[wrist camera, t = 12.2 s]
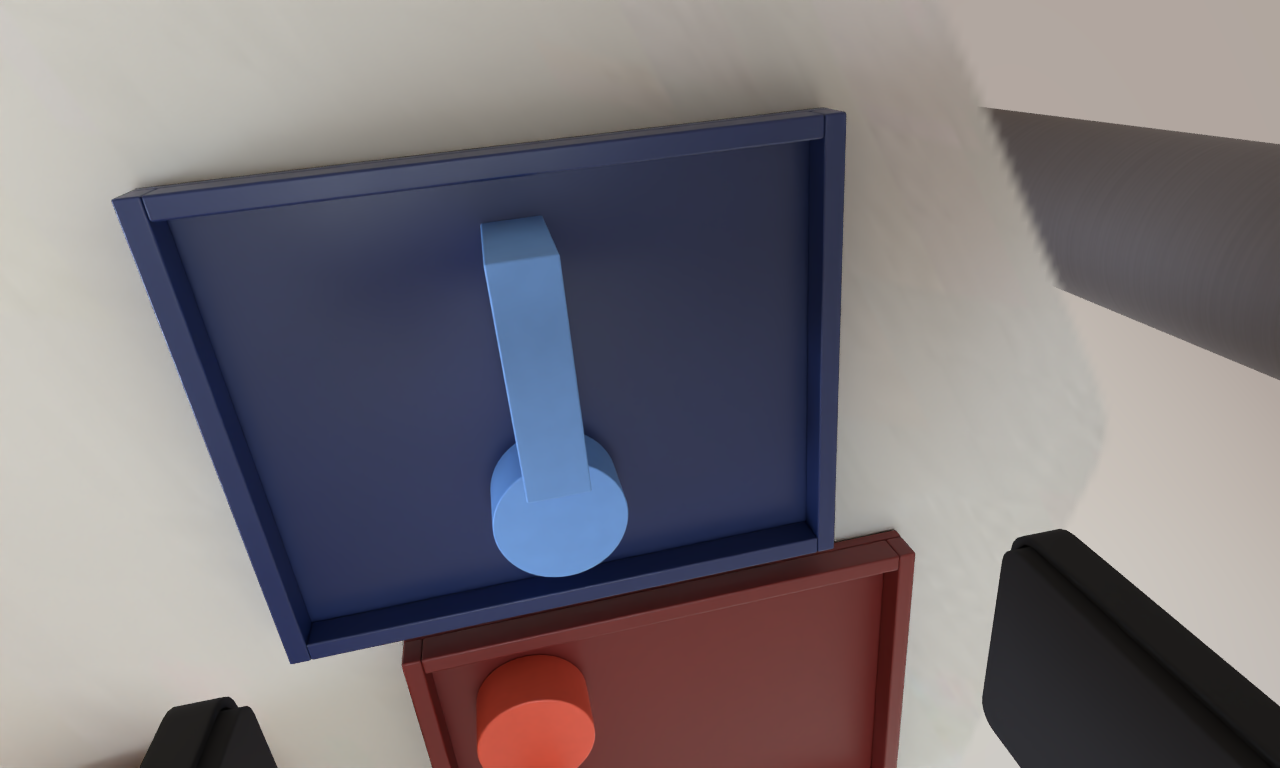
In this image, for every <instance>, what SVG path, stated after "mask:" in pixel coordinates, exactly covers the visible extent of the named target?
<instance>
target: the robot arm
mask: <svg viewBox="0 0 1280 768" xmlns="http://www.w3.org/2000/svg"><path fill="white" fill-rule="evenodd" d="M982 704H983V710H984V713H985V716H986V718H987V721H988V723H989V725H990V726H991V728H992V729H993V731H994V732H995V734H996V735H997V736H998V738H999V739H1000V740H1001V742H1002V743H1003V744H1004V746H1005V747H1006V748H1007V750H1008V751H1009V752H1010V754H1011V755H1012V756H1013V758H1014V759H1015V761H1016V762H1017V763H1018V765H1019V766H1020V767H1021V768H1280V706H1279V705H1277V704H1276V703H1275V702H1274V701H1273V700H1271V699H1270V698H1269V697H1268V696H1267V695H1265V694H1264V693H1263V692H1262V691H1261V690H1259V689H1258V688H1257V687H1256V686H1255V685H1253V684H1252V683H1251V682H1250V681H1249V680H1247V679H1246V678H1245V677H1244V676H1243V675H1241V674H1240V673H1239V672H1238V671H1237V670H1235V669H1234V668H1233V667H1232V666H1231V665H1229V664H1228V663H1227V662H1226V661H1224V660H1223V659H1222V658H1221V657H1220V656H1219V655H1217V654H1216V653H1215V652H1214V651H1213V650H1211V649H1210V648H1209V647H1208V646H1206V645H1205V644H1204V643H1203V642H1202V641H1201V640H1199V639H1198V638H1197V637H1196V636H1195V635H1193V634H1192V633H1191V632H1190V631H1189V630H1187V629H1186V628H1185V627H1184V626H1183V625H1181V624H1180V623H1179V622H1178V621H1177V620H1175V619H1174V618H1173V617H1172V616H1171V615H1169V614H1168V613H1167V612H1166V611H1165V610H1163V609H1162V608H1161V607H1160V606H1159V605H1157V604H1156V603H1155V602H1154V601H1152V600H1151V599H1150V598H1149V597H1148V596H1147V595H1145V594H1144V593H1143V592H1142V591H1140V590H1139V589H1138V588H1137V587H1136V586H1134V585H1133V584H1132V583H1131V582H1130V581H1129V580H1127V579H1126V578H1125V577H1124V576H1123V575H1121V574H1120V573H1119V572H1118V571H1117V570H1115V569H1114V568H1113V567H1112V566H1111V565H1109V564H1108V563H1107V562H1106V561H1105V560H1103V559H1102V558H1101V557H1100V556H1098V555H1097V554H1096V553H1095V552H1094V551H1093V550H1091V549H1090V548H1089V547H1088V546H1087V545H1085V544H1084V543H1083V542H1082V541H1081V540H1079V539H1078V538H1077V537H1076V536H1075V535H1073V534H1072V533H1070V532H1068V531H1067V530H1062V529H1057V530H1052V531H1047V532H1042V533H1037V534H1032V535H1027V536H1022V537H1019V538H1017V539H1016V540H1015V541H1014V542H1013V545H1012V548H1011V551H1008V552H1006V553H1005V554H1004V556H1003V560H1002V566H1001V573H1000V580H999V586H998V593H997V600H996V607H995V614H994V621H993V628H992V634H991V641H990V648H989V655H988V662H987V669H986V676H985V682H984V689H983V696H982ZM140 768H277V765H276V763H275V761H274V758H273V756H272V754H271V751H270V749H269V747H268V744H267V742H266V740H265V737H264V735H263V733H262V730H261V728H260V726H259V723H258V721H257V719H256V716H255V714H254V712H253V711H252V709H251V708H250V707H248V706H244V707H239V708H238V706H237V705H236V703H235V702H234V700H233V699H231V698H230V697H222V698H217V699H212V700H207V701H202V702H197V703H192V704H187V705H182V706H177V707H173V708H172V709H170V710H169V711H168V712H167V713H166V715H165V717H164V718H163V720H162V722H161V724H160V726H159V728H158V730H157V732H156V734H155V736H154V739H153V741H152V743H151V745H150V747H149V749H148V751H147V753H146V755H145V757H144V759H143V762H142V764H141V766H140Z"/></svg>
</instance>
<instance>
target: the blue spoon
mask: <svg viewBox="0 0 1280 768" xmlns="http://www.w3.org/2000/svg"><path fill="white" fill-rule="evenodd" d="M480 228H481V240H482V253H483V265H484V271H485V277H486V282H487V288H488V293H489V298H490V304H491V309H492V315H493V320H494V326H495V331H496V337H497V342H498V348H499V353H500V359H501V364H502V370H503V375H504V381H505V386H506V392H507V397H508V403H509V408H510V413H511V419H512V424H513V430H514V435H515V441H516V443H515V444H514V445H513V446H512V447H510V448H509V449H508V450H507V451H506V452H505V453H504V455H503V456H502V457H501V458H500V460H499V461H498V463H497V465H496V467H495V469H494V472H493V475H492V479H491V487H490V493H491V510H492V528H493V535H494V538H495V542H496V544H497V546H498V548H499V550H500V551H501V553H502V554H503V555H504V556H505V557H506V559H507V560H508V561H510V562H511V563H512V564H513V565H515V566H516V567H518V568H519V569H521V570H523V571H526V572H528V573H531V574H534V575H538V576H544V577H564V576H570V575H574V574H578V573H581V572H583V571H586V570H588V569H590V568H592V567H594V566H596V565H597V564H599V563H600V562H602V561H603V560H604V559H606V558H607V557H608V556H609V555H610V554H611V553H612V552H613V551H614V550H615V548H616V547H617V546H618V544H619V543H620V541H621V539H622V537H623V535H624V533H625V530H626V527H627V523H628V506H627V501H626V498H625V495H624V492H623V489H622V486H621V484H620V481H619V478H618V475H617V472H616V469H615V467H614V464H613V461H612V459H611V457H610V456H609V454H608V453H607V451H606V450H605V449H604V448H603V447H602V446H601V445H600V444H599V443H598V442H596V441H595V440H594V439H592V438H590V437H588V436H586V435H584V430H583V422H582V415H581V408H580V400H579V393H578V386H577V378H576V371H575V364H574V356H573V349H572V342H571V335H570V327H569V320H568V313H567V305H566V298H565V291H564V283H563V276H562V269H561V261H560V255H559V253H558V251H557V248H556V246H555V244H554V241H553V239H552V237H551V235H550V232H549V230H548V228H547V226H546V223H545V221H544V219H543V217H542V216H533V217H525V218H518V219H510V220H503V221H495V222H488V223H482V224H481V225H480Z"/></svg>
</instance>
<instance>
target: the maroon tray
mask: <svg viewBox="0 0 1280 768" xmlns="http://www.w3.org/2000/svg"><path fill="white" fill-rule="evenodd" d="M914 562H915V552H914V551H913V550H912V549H911V548H910V547H909V545H908V544H907V543H906V542H905V541H904V540H903V539H902V538H901V537H900V535H899V534H898V533H897V531H896V530H893V531H888V532H883V533H878V534H874V535H869V536H864V537H859V538H855V539H850V540H845V541H841V542H836V543H834V548H833V549H829V550H824V551H817V552H816V553H811V554H806V555H801V556H797V557H792V558H787V559H783V560H778V561H773V562H769V563H764V564H759V565H755V566H750V567H745V568H740V569H736V570H731V571H726V572H722V573H717V574H712V575H708V576H703V577H698V578H693V579H689V580H684V581H679V582H675V583H670V584H665V585H661V586H656V587H651V588H647V589H642V590H637V591H632V592H628V593H623V594H618V595H614V596H609V597H604V598H600V599H595V600H590V601H586V602H581V603H576V604H571V605H567V606H562V607H557V608H553V609H548V610H543V611H539V612H534V613H529V614H524V615H520V616H515V617H510V618H506V619H501V620H496V621H492V622H487V623H482V624H478V625H473V626H468V627H463V628H459V629H454V630H449V631H445V632H440V633H435V634H431V635H426V636H421V637H417V638H412V639H407V640H404V646H403V656H402V669H403V672H404V675H405V678H406V682H407V685H408V688H409V692H410V695H411V698H412V702H413V705H414V708H415V712H416V715H417V718H418V722H419V725H420V728H421V731H422V735H423V738H424V741H425V745H426V748H427V751H428V755H429V758H430V761H431V765H432V768H483V767H482V765H481V764H480V762H479V759H478V755H477V724H476V699H477V694H478V692H479V689H480V687H481V685H482V684H483V682H484V681H485V679H486V678H487V677H488V676H489V675H490V674H491V673H492V672H493V671H494V670H496V669H497V668H498V667H500V666H502V665H503V664H505V663H507V662H509V661H511V660H514V659H517V658H520V657H524V656H530V655H550V656H555V657H559V658H562V659H564V660H567V661H568V662H570V663H572V664H573V665H574V666H576V667H577V668H578V669H579V670H580V672H581V673H582V675H583V676H584V678H585V681H586V685H587V690H588V695H589V700H590V706H591V711H592V716H593V722H594V727H595V741H594V744H593V747H592V749H591V752H590V753H589V755H588V756H587V758H586V759H585V760H584V762H583V763H582V764H581V765H579V766H578V767H577V768H897V758H898V746H899V735H900V723H901V712H902V700H903V689H904V677H905V666H906V654H907V643H908V631H909V620H910V608H911V597H912V585H913V574H914Z"/></svg>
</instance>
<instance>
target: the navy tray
mask: <svg viewBox="0 0 1280 768" xmlns="http://www.w3.org/2000/svg"><path fill="white" fill-rule="evenodd" d="M845 144H846V112H843V111H838V110H833V109H828V108H815V109H806V110H798V111H789V112H781V113H772V114H764V115H755V116H747V117H739V118H730V119H722V120H713V121H705V122H696V123H688V124H679V125H671V126H662V127H654V128H645V129H637V130H629V131H620V132H612V133H603V134H595V135H586V136H578V137H569V138H561V139H552V140H544V141H535V142H527V143H519V144H510V145H502V146H493V147H485V148H476V149H468V150H459V151H451V152H442V153H434V154H425V155H417V156H409V157H400V158H392V159H383V160H375V161H366V162H358V163H349V164H341V165H332V166H324V167H315V168H307V169H299V170H290V171H282V172H273V173H265V174H256V175H248V176H239V177H231V178H222V179H214V180H205V181H197V182H189V183H180V184H172V185H163V186H155V187H146V188H138V189H134V190H132V191H130V192H128V193H126V194H123V195H121V196H119V197H117V198H114V199H112V204H113V207H114V209H115V212H116V214H117V217H118V220H119V222H120V225H121V227H122V230H123V233H124V235H125V238H126V240H127V243H128V245H129V248H130V251H131V253H132V256H133V258H134V261H135V264H136V266H137V269H138V271H139V274H140V276H141V279H142V282H143V284H144V287H145V289H146V292H147V295H148V297H149V300H150V302H151V305H152V307H153V310H154V313H155V315H156V318H157V320H158V323H159V326H160V328H161V331H162V333H163V336H164V338H165V341H166V344H167V346H168V349H169V351H170V354H171V357H172V359H173V362H174V364H175V367H176V369H177V372H178V375H179V377H180V380H181V382H182V385H183V388H184V390H185V393H186V395H187V398H188V400H189V403H190V406H191V408H192V411H193V413H194V416H195V419H196V421H197V424H198V426H199V429H200V431H201V434H202V437H203V439H204V442H205V444H206V447H207V450H208V452H209V455H210V457H211V460H212V462H213V465H214V468H215V470H216V473H217V475H218V478H219V481H220V483H221V486H222V488H223V491H224V493H225V496H226V499H227V501H228V504H229V506H230V509H231V512H232V514H233V517H234V519H235V522H236V524H237V527H238V530H239V532H240V535H241V537H242V540H243V543H244V545H245V548H246V550H247V553H248V555H249V558H250V561H251V563H252V566H253V568H254V571H255V574H256V576H257V579H258V581H259V584H260V586H261V589H262V592H263V594H264V597H265V599H266V602H267V605H268V607H269V610H270V612H271V615H272V617H273V620H274V623H275V625H276V628H277V630H278V633H279V636H280V638H281V641H282V643H283V646H284V648H285V651H286V654H287V656H288V659H289V661H290V664H295V663H300V662H304V661H309V660H311V659H318V658H323V657H327V656H332V655H337V654H341V653H346V652H351V651H355V650H360V649H365V648H370V647H374V646H379V645H384V644H388V643H393V642H398V641H402V640H407V639H412V638H417V637H421V636H426V635H431V634H435V633H440V632H445V631H449V630H454V629H459V628H463V627H468V626H473V625H478V624H482V623H487V622H492V621H496V620H501V619H506V618H510V617H515V616H520V615H524V614H529V613H534V612H539V611H543V610H548V609H553V608H557V607H562V606H567V605H571V604H576V603H581V602H586V601H590V600H595V599H600V598H604V597H609V596H614V595H618V594H623V593H628V592H632V591H637V590H642V589H647V588H651V587H656V586H661V585H665V584H670V583H675V582H679V581H684V580H689V579H693V578H698V577H703V576H708V575H712V574H717V573H722V572H726V571H731V570H736V569H740V568H745V567H750V566H755V565H759V564H764V563H769V562H773V561H778V560H783V559H787V558H792V557H797V556H801V555H806V554H811V553H816V552H817V551H824V550H829V549H833V548H834V523H835V489H836V454H837V420H838V385H839V351H840V316H841V282H842V247H843V213H844V179H845ZM533 216H542V217H543V219H544V221H545V223H546V226H547V228H548V230H549V232H550V235H551V237H552V239H553V241H554V244H555V246H556V248H557V251H558V253H559V255H560V261H561V269H562V276H563V283H564V291H565V298H566V305H567V313H568V320H569V327H570V335H571V342H572V349H573V356H574V364H575V371H576V378H577V386H578V393H579V400H580V408H581V415H582V422H583V430H584V435H586V436H588V437H590V438H592V439H594V440H595V441H596V442H598V443H599V444H600V445H601V446H602V447H603V448H604V449H605V450H606V451H607V453H608V454H609V456H610V457H611V459H612V461H613V464H614V467H615V469H616V472H617V475H618V478H619V481H620V484H621V486H622V489H623V492H624V495H625V498H626V501H627V506H628V523H627V527H626V530H625V533H624V535H623V537H622V539H621V541H620V543H619V544H618V546H617V547H616V548H615V550H614V551H613V552H612V553H611V554H610V555H609V556H608V557H607V558H606V559H604V560H603V561H602V562H600V563H599V564H597V565H596V566H594V567H592V568H590V569H588V570H586V571H583V572H581V573H578V574H574V575H570V576H564V577H544V576H538V575H534V574H531V573H528V572H526V571H523V570H521V569H519V568H518V567H516V566H515V565H513V564H512V563H511V562H510V561H508V560H507V559H506V557H505V556H504V555H503V554H502V553H501V551H500V550H499V548H498V546H497V544H496V542H495V538H494V535H493V528H492V510H491V493H490V487H491V479H492V475H493V472H494V469H495V467H496V465H497V463H498V461H499V460H500V458H501V457H502V456H503V455H504V453H505V452H506V451H507V450H508V449H509V448H510V447H512V446H513V445H514V444H515V443H516V441H515V435H514V430H513V424H512V419H511V413H510V408H509V403H508V397H507V392H506V386H505V381H504V375H503V370H502V364H501V359H500V353H499V348H498V342H497V337H496V331H495V326H494V320H493V315H492V309H491V304H490V298H489V293H488V288H487V282H486V277H485V271H484V265H483V253H482V240H481V228H480V225H481V224H482V223H488V222H495V221H503V220H510V219H518V218H525V217H533Z"/></svg>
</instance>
